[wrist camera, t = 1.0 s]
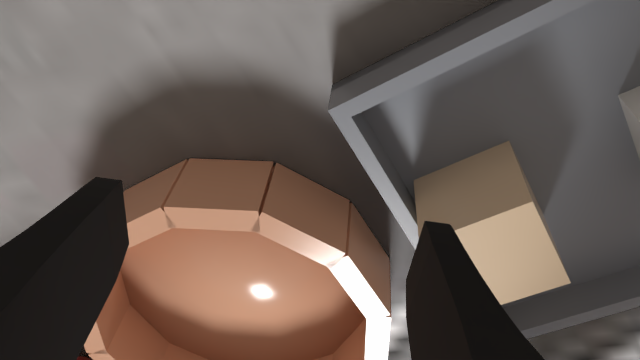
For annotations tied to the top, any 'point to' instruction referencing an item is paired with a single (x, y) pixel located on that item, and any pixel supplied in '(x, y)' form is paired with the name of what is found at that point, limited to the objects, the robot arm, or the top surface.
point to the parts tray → (519, 134)
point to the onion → (83, 358)
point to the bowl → (244, 270)
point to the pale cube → (632, 114)
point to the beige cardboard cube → (494, 222)
